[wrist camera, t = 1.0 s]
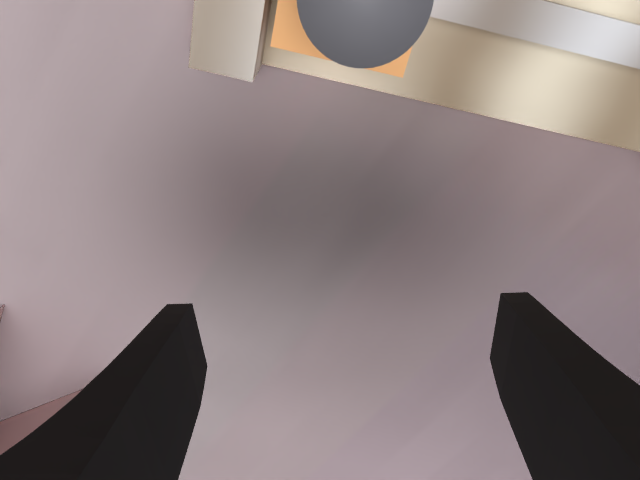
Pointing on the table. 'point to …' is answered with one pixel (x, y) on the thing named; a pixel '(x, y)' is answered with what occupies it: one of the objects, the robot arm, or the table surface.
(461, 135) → the table surface
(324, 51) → the carriage
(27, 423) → the greeting card
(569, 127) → the rail
